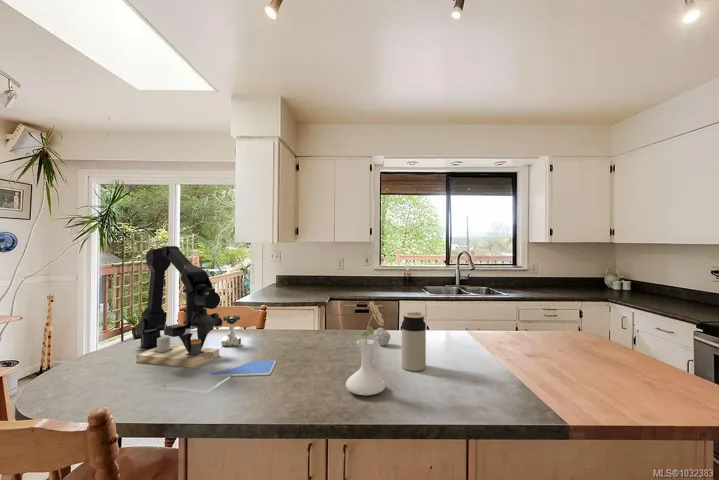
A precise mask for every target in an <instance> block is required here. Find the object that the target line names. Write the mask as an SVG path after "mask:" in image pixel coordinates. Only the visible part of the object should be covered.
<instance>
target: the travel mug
mask: <svg viewBox="0 0 719 480" xmlns="http://www.w3.org/2000/svg"><path fill="white" fill-rule="evenodd" d="M402 316H403V320H402V322H401V367H402V369H404V370H406V371H408V372H421V371H424V370H425V369H426V368H427V367H426V364H427V363H426V362H427V360H426V359H427V357H426V356H427V353H426V352H427V351H426V350H427V348H426V346H427V344H426V341H427V340H426V339H427V337H426V335H427V333H426V332H427V329H426V326H427V325H426V322H425V319H424V318H425V316H426V314H424V313H423V312H418V311H406V312H404V313H402Z"/></svg>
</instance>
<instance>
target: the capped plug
mask: <svg viewBox="0 0 719 480" xmlns="http://www.w3.org/2000/svg"><path fill="white" fill-rule="evenodd" d="M199 354H201V339H198V338H192V339H191V351H190V352H188V355H189V356H197V355H199Z"/></svg>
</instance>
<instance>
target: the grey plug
mask: <svg viewBox="0 0 719 480" xmlns="http://www.w3.org/2000/svg"><path fill="white" fill-rule="evenodd" d="M170 345H171V336H161V337H160V338H157V353H166V352H168V351H170Z"/></svg>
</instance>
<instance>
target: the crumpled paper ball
mask: <svg viewBox="0 0 719 480" xmlns="http://www.w3.org/2000/svg"><path fill="white" fill-rule="evenodd" d="M373 334H374V337H375V338H376V342H377V344H378V345H380V346H387V345H388V344H389V343H390V340H391V334H390V333H389V331H388V330H386V329H385V328H383V327H379V328H377V329H375V330H374V332H373Z"/></svg>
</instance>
